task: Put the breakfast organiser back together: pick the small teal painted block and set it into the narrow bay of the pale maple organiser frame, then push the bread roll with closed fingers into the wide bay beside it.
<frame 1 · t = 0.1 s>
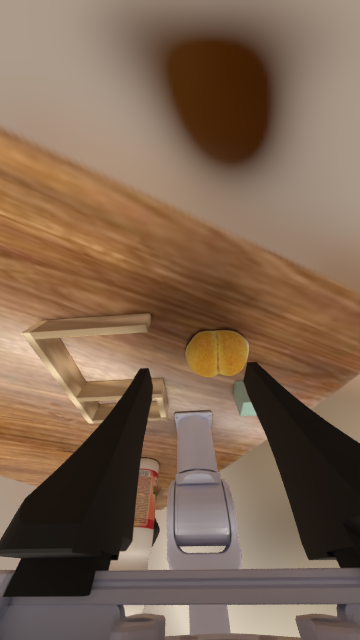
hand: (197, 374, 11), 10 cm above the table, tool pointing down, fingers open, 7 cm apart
teal block: (244, 387, 28), on the table
fruit juice: (144, 462, 46), on the table
bread roll: (215, 347, 23), on the table
organiser frame: (119, 368, 25), on the table
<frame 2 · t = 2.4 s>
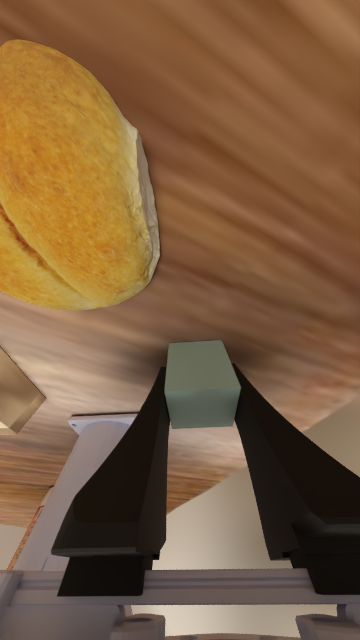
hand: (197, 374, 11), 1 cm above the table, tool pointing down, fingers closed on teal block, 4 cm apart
teal block: (195, 360, 12), on the table, touching gripper
fruit juice: (74, 489, 30), on the table
bread roll: (79, 222, 8), on the table
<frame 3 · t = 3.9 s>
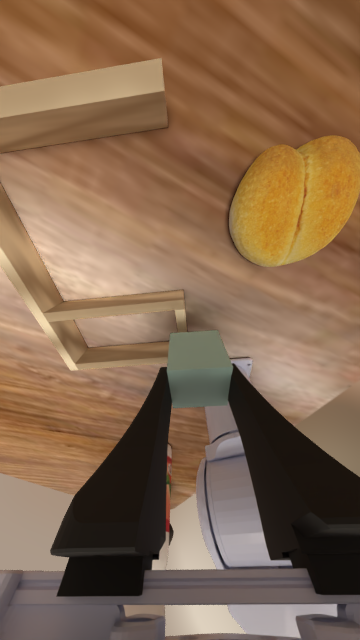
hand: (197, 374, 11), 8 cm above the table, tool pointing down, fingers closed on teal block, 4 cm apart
teal block: (194, 349, 13), point 6 cm above the table, touching gripper
fruit juice: (153, 445, 36), on the table
bread roll: (277, 213, 13), on the table
organiser frame: (113, 268, 15), on the table
when the fingers open (3 cm above the table, at t = 5.6 s): teal block stays where it is, resting in organiser frame.
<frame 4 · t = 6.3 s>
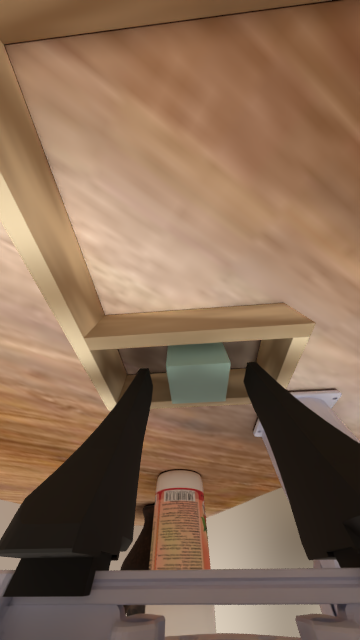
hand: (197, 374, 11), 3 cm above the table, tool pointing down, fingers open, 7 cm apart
teal block: (193, 347, 13), resting in organiser frame
fruit juice: (179, 475, 31), on the table
jug: (159, 505, 44), on the table
organiser frame: (191, 269, 10), on the table
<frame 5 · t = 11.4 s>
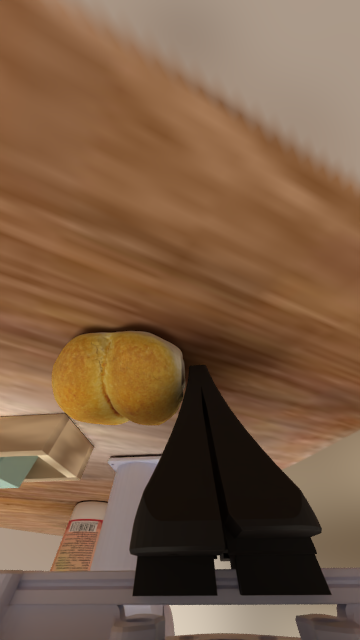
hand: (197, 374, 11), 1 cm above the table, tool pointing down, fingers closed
teal block: (24, 433, 17), resting in organiser frame
fruit juice: (97, 503, 35), on the table
bread roll: (133, 363, 12), on the table, touching gripper
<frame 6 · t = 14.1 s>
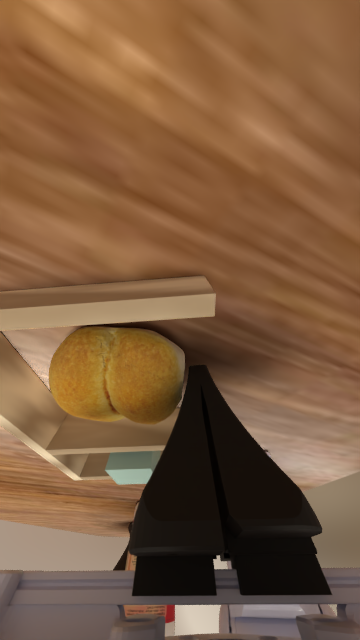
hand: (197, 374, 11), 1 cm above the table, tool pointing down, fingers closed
teal block: (142, 427, 17), resting in organiser frame
fruit juice: (156, 502, 35), on the table
bread roll: (132, 361, 12), on the table, touching gripper
organiser frame: (127, 391, 13), on the table
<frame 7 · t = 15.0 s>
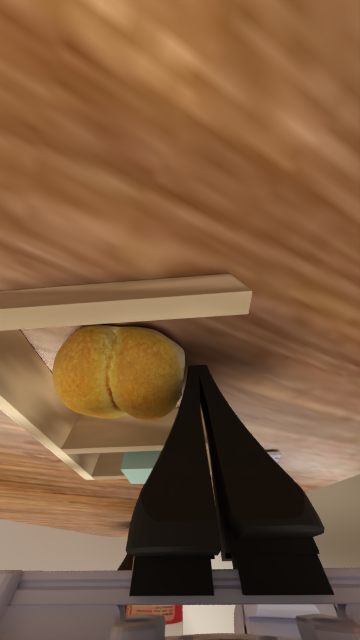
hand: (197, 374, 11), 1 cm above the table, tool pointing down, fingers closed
teal block: (154, 427, 17), resting in organiser frame
fruit juice: (161, 502, 35), on the table
bread roll: (133, 359, 12), on the table
organiser frame: (142, 391, 13), on the table
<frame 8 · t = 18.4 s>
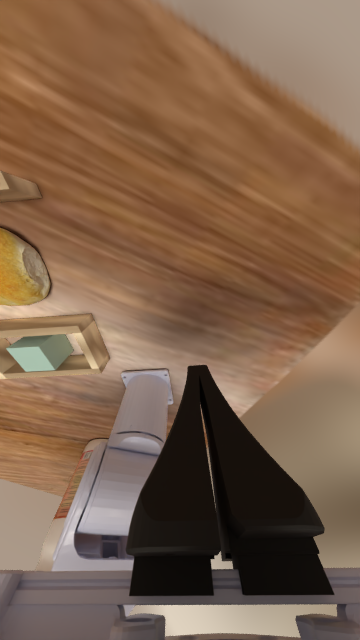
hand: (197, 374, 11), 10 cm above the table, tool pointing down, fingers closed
teal block: (55, 340, 22), resting in organiser frame
fruit juice: (106, 444, 39), on the table
bread roll: (12, 265, 17), on the table
organiser frame: (27, 296, 18), on the table
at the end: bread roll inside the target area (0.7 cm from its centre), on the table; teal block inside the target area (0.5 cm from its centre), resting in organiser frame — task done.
